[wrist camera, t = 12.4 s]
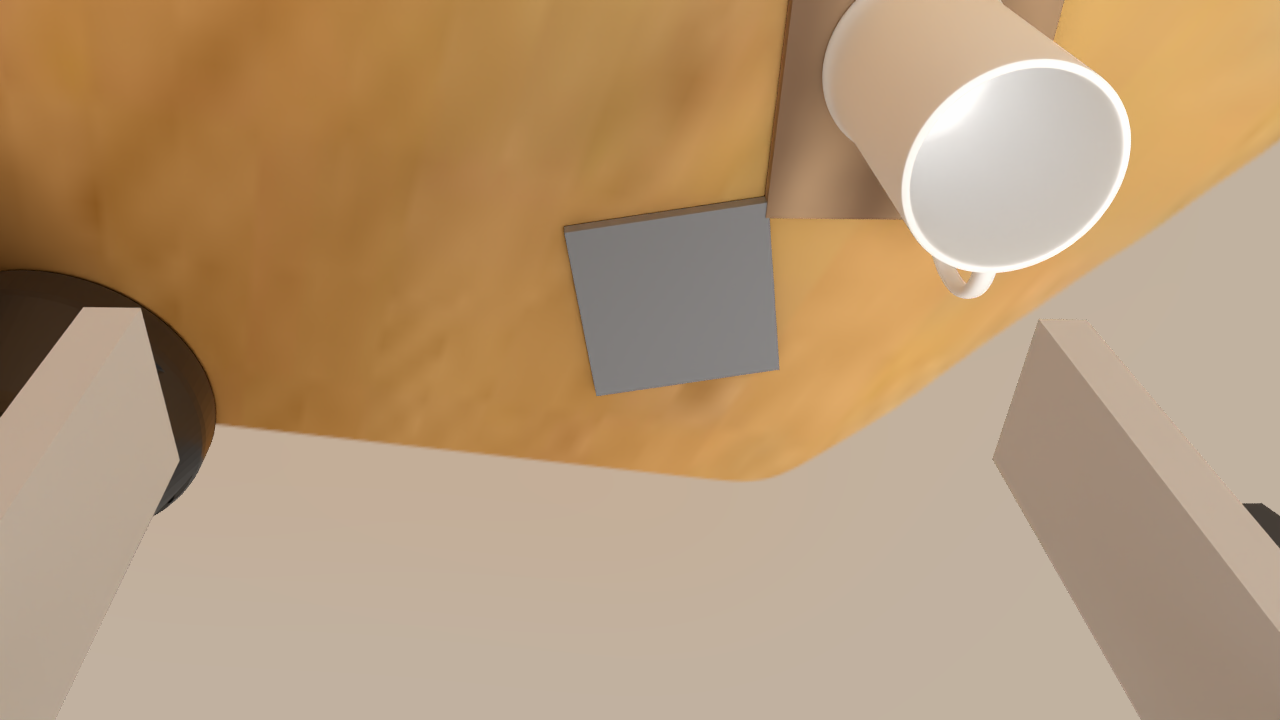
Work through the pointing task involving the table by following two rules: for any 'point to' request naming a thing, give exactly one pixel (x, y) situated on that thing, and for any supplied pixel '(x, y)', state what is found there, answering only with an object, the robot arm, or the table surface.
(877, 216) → the walnut coaster
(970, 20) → the mug
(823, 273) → the table surface
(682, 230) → the slate coaster
